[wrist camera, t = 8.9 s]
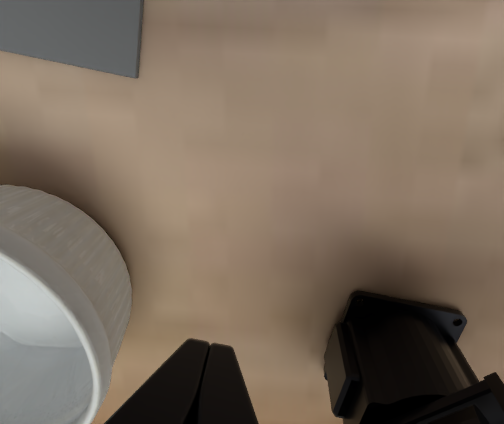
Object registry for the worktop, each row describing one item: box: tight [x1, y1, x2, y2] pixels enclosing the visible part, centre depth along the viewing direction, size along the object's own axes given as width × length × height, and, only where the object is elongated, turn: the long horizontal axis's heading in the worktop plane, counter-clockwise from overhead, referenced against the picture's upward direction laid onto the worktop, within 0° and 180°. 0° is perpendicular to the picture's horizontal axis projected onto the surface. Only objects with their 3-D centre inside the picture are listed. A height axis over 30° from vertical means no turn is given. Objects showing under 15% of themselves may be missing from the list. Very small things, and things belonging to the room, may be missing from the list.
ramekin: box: [0, 185, 132, 424], centre depth 19 cm, size 13×13×7 cm
